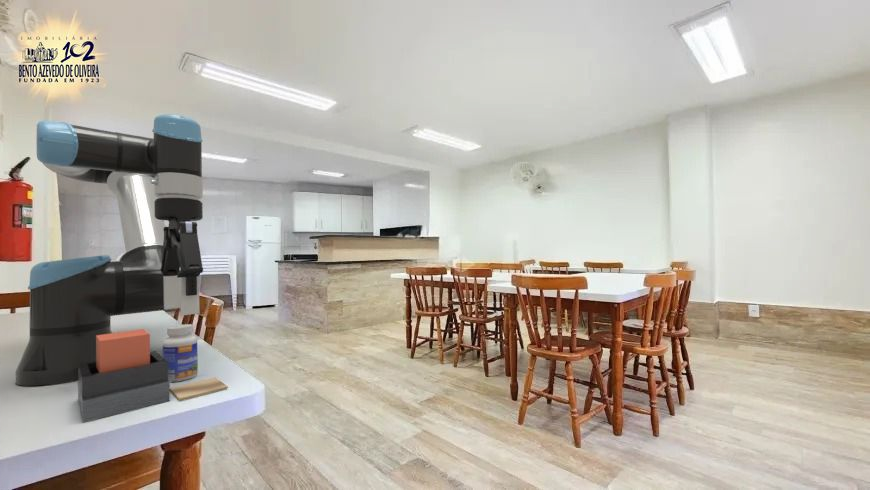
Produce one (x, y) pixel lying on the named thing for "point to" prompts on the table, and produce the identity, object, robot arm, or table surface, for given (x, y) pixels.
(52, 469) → the table surface
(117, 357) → the orange block
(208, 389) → the coaster
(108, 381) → the grey square tray
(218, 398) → the table surface
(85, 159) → the robot arm
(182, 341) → the pill bottle
